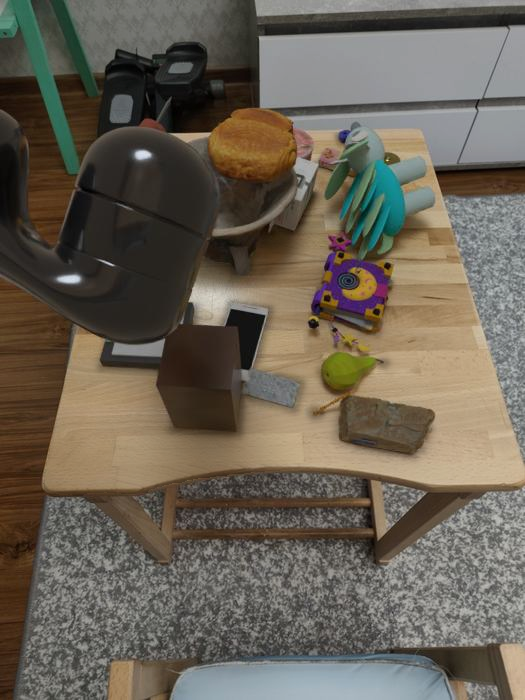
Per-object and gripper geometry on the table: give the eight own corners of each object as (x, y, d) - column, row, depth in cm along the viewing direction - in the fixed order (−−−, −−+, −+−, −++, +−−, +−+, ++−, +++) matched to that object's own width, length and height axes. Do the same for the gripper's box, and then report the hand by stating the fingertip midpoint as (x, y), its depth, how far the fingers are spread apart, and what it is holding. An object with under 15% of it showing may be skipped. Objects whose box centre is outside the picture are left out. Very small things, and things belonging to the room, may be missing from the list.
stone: (428, 420, 76) (437, 404, 72) (427, 459, 73) (437, 445, 68) (339, 404, 78) (343, 388, 74) (334, 441, 75) (338, 426, 70)
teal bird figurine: (422, 92, 85) (337, 113, 80) (454, 232, 90) (377, 261, 85) (378, 120, 98) (303, 140, 93) (409, 242, 103) (339, 266, 98)
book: (294, 337, 84) (299, 295, 74) (329, 238, 97) (336, 190, 86) (376, 359, 82) (392, 318, 72) (400, 255, 94) (417, 207, 84)
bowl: (223, 176, 107) (218, 113, 94) (319, 231, 98) (327, 169, 85) (133, 245, 96) (113, 184, 83) (231, 313, 87) (226, 257, 74)
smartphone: (208, 375, 81) (207, 372, 80) (231, 304, 89) (231, 301, 88) (249, 383, 80) (248, 381, 80) (269, 311, 88) (269, 308, 87)
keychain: (315, 414, 77) (315, 418, 77) (311, 409, 77) (311, 413, 76) (355, 391, 74) (356, 395, 73) (352, 386, 74) (352, 390, 73)
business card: (300, 381, 80) (301, 380, 80) (293, 408, 77) (293, 406, 77) (249, 368, 81) (249, 367, 81) (240, 394, 79) (240, 393, 78)
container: (309, 191, 104) (312, 160, 97) (261, 188, 104) (261, 157, 98) (311, 160, 109) (315, 128, 102) (266, 157, 110) (266, 125, 103)
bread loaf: (197, 148, 76) (199, 185, 83) (293, 169, 75) (287, 204, 82) (219, 89, 82) (220, 128, 89) (308, 108, 81) (301, 146, 89)
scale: (102, 366, 82) (98, 358, 80) (119, 305, 89) (115, 296, 86) (183, 370, 81) (181, 362, 79) (194, 308, 88) (192, 300, 86)
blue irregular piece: (334, 137, 114) (335, 127, 112) (348, 129, 115) (349, 119, 113) (362, 157, 110) (364, 147, 108) (376, 148, 112) (379, 138, 109)
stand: (174, 428, 76) (155, 385, 63) (183, 373, 81) (168, 323, 68) (236, 431, 76) (231, 389, 63) (242, 376, 81) (237, 326, 68)
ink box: (312, 195, 104) (289, 242, 97) (291, 188, 104) (267, 234, 97) (320, 163, 96) (296, 211, 89) (297, 155, 97) (271, 203, 90)
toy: (318, 158, 107) (326, 145, 109) (317, 165, 108) (325, 153, 111) (370, 174, 104) (377, 160, 106) (369, 181, 106) (375, 168, 108)
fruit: (314, 350, 78) (370, 334, 83) (313, 383, 80) (368, 365, 86) (339, 366, 73) (397, 347, 78) (337, 400, 75) (393, 380, 81)
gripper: (214, 179, 40) (196, 198, 56) (39, 215, 38) (72, 225, 54) (234, 266, 42) (211, 261, 58) (69, 306, 40) (92, 289, 56)
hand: (144, 243), depth 56 cm, fingers closed on jar, 6 cm apart
